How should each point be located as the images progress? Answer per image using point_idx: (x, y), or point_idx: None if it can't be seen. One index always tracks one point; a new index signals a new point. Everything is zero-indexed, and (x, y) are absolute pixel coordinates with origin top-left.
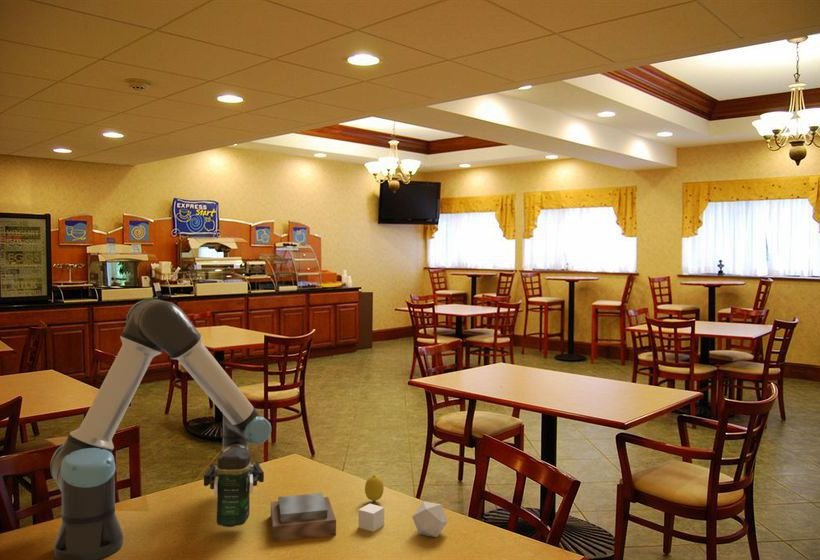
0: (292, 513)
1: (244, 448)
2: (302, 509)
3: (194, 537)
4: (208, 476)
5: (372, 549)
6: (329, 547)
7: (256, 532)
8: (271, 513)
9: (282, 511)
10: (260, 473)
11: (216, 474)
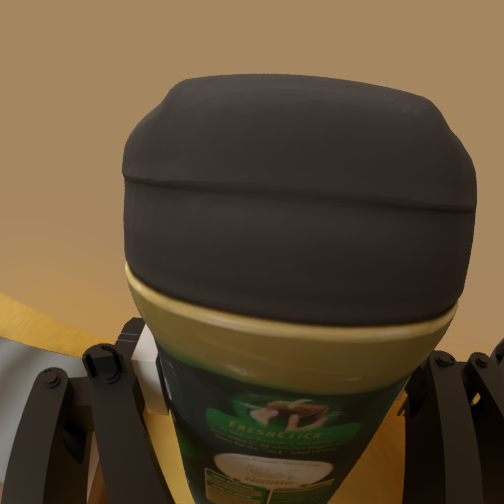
0: (62, 354)
1: (195, 85)
2: (27, 362)
3: (378, 458)
4: (470, 364)
5: (14, 311)
6: (52, 337)
7: (175, 465)
8: (99, 488)
9: (79, 375)
10: (65, 373)
11: (449, 393)
